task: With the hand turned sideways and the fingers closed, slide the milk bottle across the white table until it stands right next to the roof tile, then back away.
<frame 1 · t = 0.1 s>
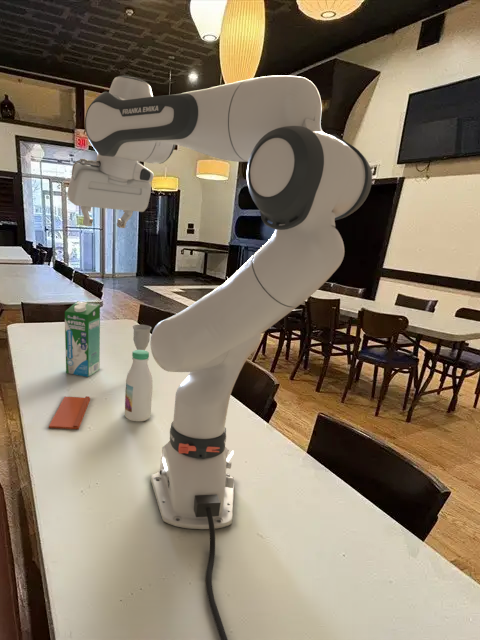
hand: (104, 226, 99), 52 cm above the table, tool tilted 20°, fingers open, 8 cm apart
roof tile: (71, 412, 121), on the table
chalice: (139, 374, 156), on the table
milk bottle: (137, 416, 122), on the table
milk carton: (83, 371, 153), on the table
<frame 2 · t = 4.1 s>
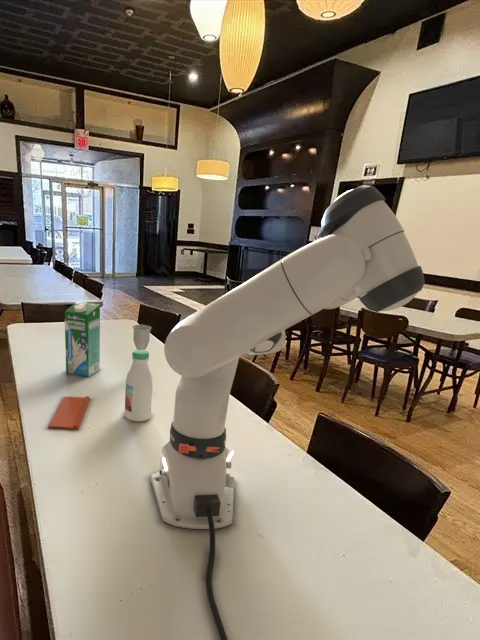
hand: (177, 342, 116), 23 cm above the table, tool horizontal, fingers open, 8 cm apart
nothing on the table moved.
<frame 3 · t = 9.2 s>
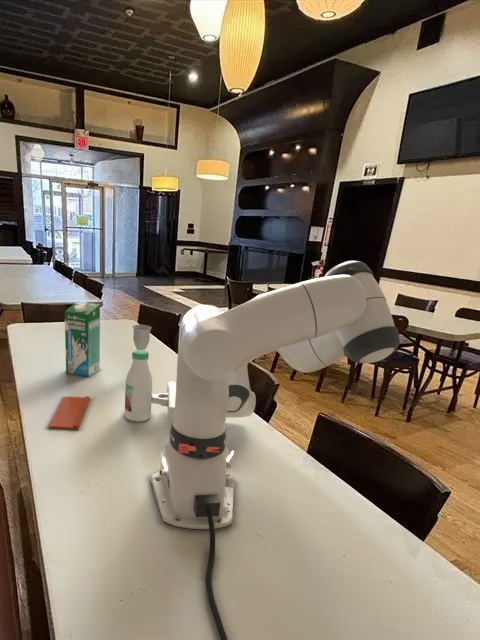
hand: (151, 398, 120), 6 cm above the table, tool horizontal, fingers closed, pressing on milk bottle
milk bottle: (137, 416, 122), on the table, touching gripper
everything else where it was.
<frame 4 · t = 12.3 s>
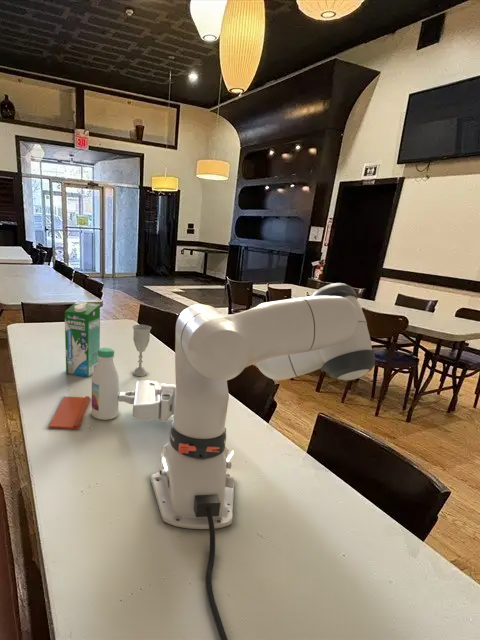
hand: (118, 396, 120), 6 cm above the table, tool horizontal, fingers closed
milk bottle: (104, 415, 122), on the table
everything else where it was.
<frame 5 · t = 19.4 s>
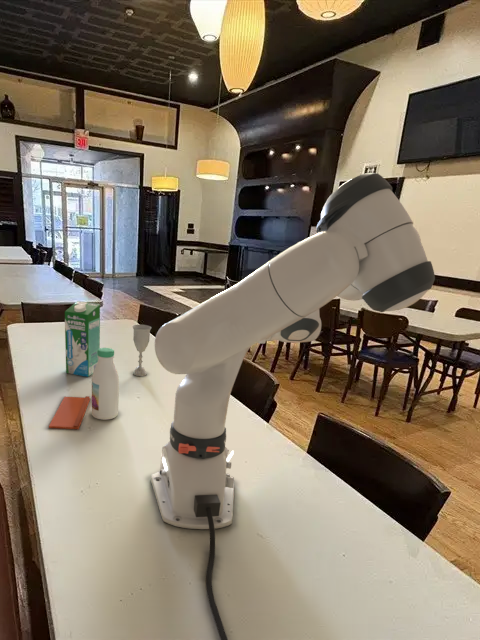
hand: (209, 320, 112), 30 cm above the table, tool horizontal, fingers closed
nothing on the table moved.
at the end: milk bottle inside the target area (1.1 cm from its centre), on the table; milk bottle tilted 0°; milk bottle moved 9.6 cm from its start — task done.
